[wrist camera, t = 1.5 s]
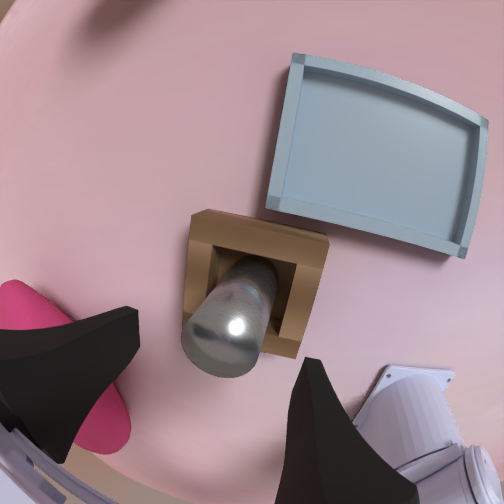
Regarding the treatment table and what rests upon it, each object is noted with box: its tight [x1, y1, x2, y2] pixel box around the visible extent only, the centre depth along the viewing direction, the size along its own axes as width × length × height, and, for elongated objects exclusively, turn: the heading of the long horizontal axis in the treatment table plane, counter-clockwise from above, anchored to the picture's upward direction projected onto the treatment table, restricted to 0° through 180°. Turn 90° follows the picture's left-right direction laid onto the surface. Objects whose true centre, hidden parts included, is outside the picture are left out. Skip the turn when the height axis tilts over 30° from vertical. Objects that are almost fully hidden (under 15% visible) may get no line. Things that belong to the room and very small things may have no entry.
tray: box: [265, 53, 489, 259], centre depth 14 cm, size 10×14×2 cm
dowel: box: [181, 255, 279, 378], centre depth 15 cm, size 3×3×8 cm
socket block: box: [182, 209, 330, 359], centre depth 18 cm, size 8×8×3 cm
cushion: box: [0, 280, 131, 455], centre depth 22 cm, size 23×19×10 cm
